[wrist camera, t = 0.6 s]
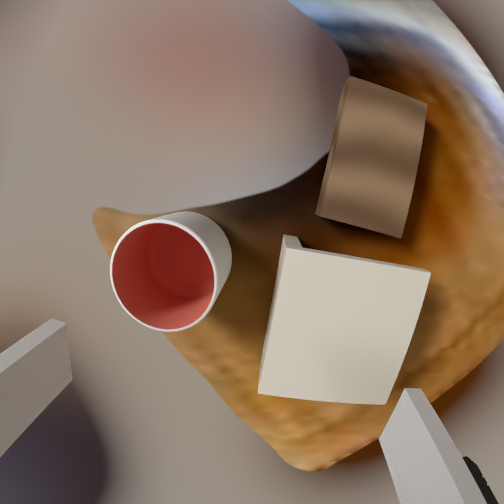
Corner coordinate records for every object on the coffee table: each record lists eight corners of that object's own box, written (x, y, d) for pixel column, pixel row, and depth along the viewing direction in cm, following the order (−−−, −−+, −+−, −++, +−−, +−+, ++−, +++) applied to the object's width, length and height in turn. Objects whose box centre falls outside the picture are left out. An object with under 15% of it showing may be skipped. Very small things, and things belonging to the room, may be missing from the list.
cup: (245, 227, 35) (233, 241, 25) (218, 308, 37) (200, 348, 27) (161, 199, 35) (122, 204, 25) (141, 279, 37) (101, 308, 27)
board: (342, 87, 32) (350, 76, 28) (413, 111, 31) (427, 104, 27) (314, 213, 35) (319, 216, 31) (388, 233, 34) (401, 238, 30)
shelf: (283, 234, 35) (286, 247, 27) (400, 255, 34) (431, 272, 26) (261, 355, 38) (257, 393, 30) (368, 368, 37) (385, 404, 29)
